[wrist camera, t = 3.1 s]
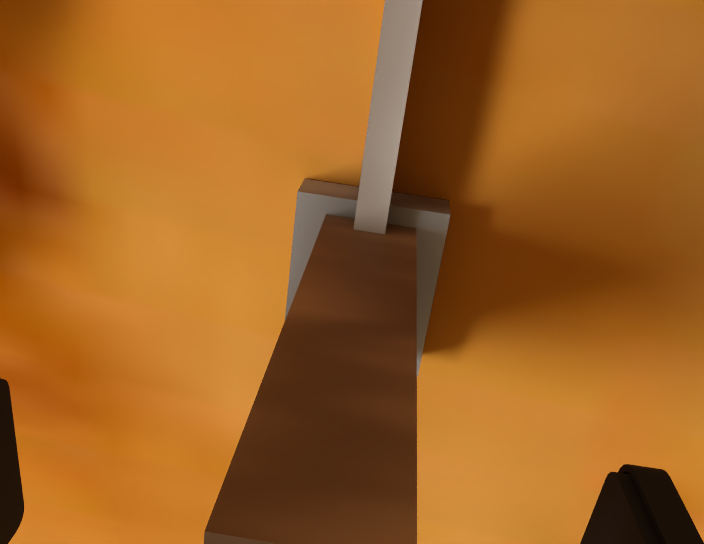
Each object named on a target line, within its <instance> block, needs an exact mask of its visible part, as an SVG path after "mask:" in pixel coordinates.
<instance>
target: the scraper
mask: <svg viewBox="0 0 704 544" xmlns="http://www.w3.org/2000/svg"><path fill="white" fill-rule="evenodd" d="M422 1H423V0H385V6H384V13H383V20H382V27H381V34H380V42H379V49H378V56H377V63H376V70H375V78H374V85H373V92H372V99H371V106H370V114H369V121H368V128H367V135H366V142H365V150H364V157H363V164H362V171H361V178H360V185H359V187H357V186H351V185H344V184H337V183H331V182H324V181H318V180H311V179H304V181H303V183H302V185H301V186H300V188H299V190H298V193H297V203H296V213H295V224H294V234H293V244H292V254H291V265H290V275H289V285H288V295H287V305H286V316H285V323H284V325H283V328H282V330H281V333H280V336H279V338H278V341H277V343H276V346H275V349H274V351H273V354H272V357H271V359H270V362H269V364H268V367H267V370H266V372H265V375H264V377H263V380H262V383H261V385H260V388H259V391H258V393H257V396H256V398H255V401H254V404H253V406H252V409H251V411H250V414H249V417H248V419H247V422H246V424H245V427H244V430H243V432H242V435H241V438H240V440H239V443H238V445H237V448H236V451H235V453H234V456H233V458H232V461H231V464H230V466H229V469H228V472H227V474H226V477H225V479H224V482H223V485H222V487H221V490H220V492H219V495H218V498H217V500H216V503H215V506H214V508H213V511H212V513H211V516H210V519H209V521H208V524H207V526H206V529H205V534H204V544H417V376H418V372H419V367H420V362H421V357H422V352H423V348H424V343H425V338H426V333H427V328H428V323H429V318H430V313H431V308H432V303H433V299H434V294H435V289H436V284H437V279H438V274H439V269H440V264H441V259H442V254H443V250H444V245H445V240H446V235H447V230H448V225H449V220H450V215H451V214H450V207H449V200H443V199H436V198H430V197H423V196H417V195H410V194H403V193H397V192H392V187H393V181H394V175H395V169H396V163H397V156H398V150H399V144H400V138H401V132H402V125H403V119H404V113H405V107H406V101H407V94H408V88H409V82H410V76H411V70H412V63H413V57H414V51H415V45H416V39H417V32H418V26H419V20H420V14H421V8H422Z"/></svg>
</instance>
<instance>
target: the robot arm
mask: <svg viewBox="0 0 704 544" xmlns="http://www.w3.org/2000/svg"><path fill="white" fill-rule="evenodd" d="M23 513H24V500H23V493H22V485H21V477H20V469H19V461H18V453H17V445H16V437H15V429H14V421H13V413H12V405H11V397H10V390H9V385H8V382H7V381H6V380H4V379H0V544H8V543H9V541H10V540H11V538H12V537H13V536H14V534H15V533H16V531H17V529H18V528H19V525H20V523H21V521H22V517H23ZM580 544H704V543H703V541H702V539H701V537H700V535H699V533H698V531H697V529H696V527H695V525H694V523H693V521H692V519H691V517H690V515H689V513H688V511H687V509H686V507H685V505H684V503H683V501H682V499H681V497H680V496H679V494H678V492H677V490H676V488H675V486H674V484H673V482H672V480H671V478H670V476H669V475H668V473H667V472H666V471H664V470H662V469H656V468H649V467H643V466H636V465H629V464H626V465H623V466H622V467H621V468H620V470H619V471H618V473H617V472H610V473H609V474H608V475H607V477H606V479H605V482H604V485H603V487H602V490H601V492H600V495H599V497H598V500H597V502H596V505H595V507H594V510H593V513H592V515H591V518H590V520H589V523H588V525H587V528H586V530H585V533H584V535H583V538H582V541H581V543H580Z"/></svg>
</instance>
